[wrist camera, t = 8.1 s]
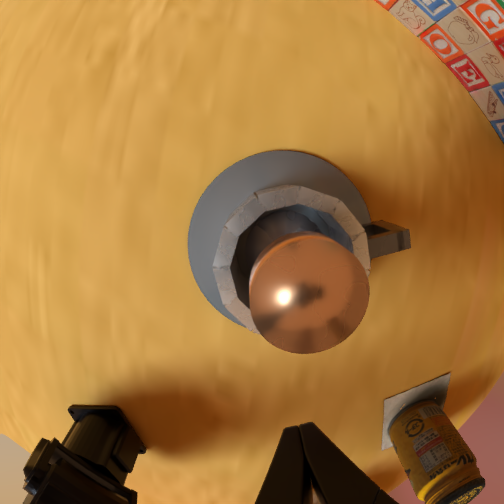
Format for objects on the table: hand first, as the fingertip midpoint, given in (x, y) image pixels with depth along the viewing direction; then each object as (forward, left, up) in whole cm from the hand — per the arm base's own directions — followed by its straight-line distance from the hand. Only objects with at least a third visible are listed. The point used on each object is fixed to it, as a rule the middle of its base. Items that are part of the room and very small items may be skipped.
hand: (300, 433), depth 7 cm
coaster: (+1, +2, -13) cm, 13 cm away
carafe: (+3, +2, -12) cm, 13 cm away
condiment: (+11, -18, -13) cm, 25 cm away
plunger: (+1, +2, -12) cm, 12 cm away
